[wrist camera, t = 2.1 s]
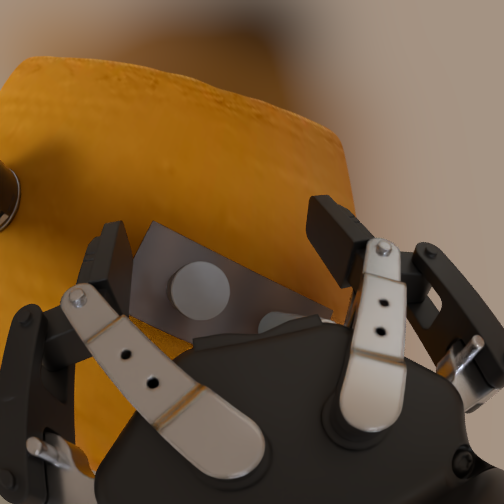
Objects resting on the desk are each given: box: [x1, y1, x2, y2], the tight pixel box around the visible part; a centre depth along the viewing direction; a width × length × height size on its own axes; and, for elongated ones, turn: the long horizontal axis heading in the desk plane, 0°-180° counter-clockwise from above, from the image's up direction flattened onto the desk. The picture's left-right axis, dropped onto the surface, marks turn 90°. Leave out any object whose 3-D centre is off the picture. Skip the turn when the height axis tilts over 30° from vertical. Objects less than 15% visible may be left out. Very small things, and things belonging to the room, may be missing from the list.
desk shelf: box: [129, 221, 333, 344], centre depth 33 cm, size 24×10×5 cm, turn 65°
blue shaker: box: [258, 311, 336, 334], centre depth 27 cm, size 4×4×10 cm
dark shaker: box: [166, 261, 230, 320], centre depth 25 cm, size 4×4×10 cm
